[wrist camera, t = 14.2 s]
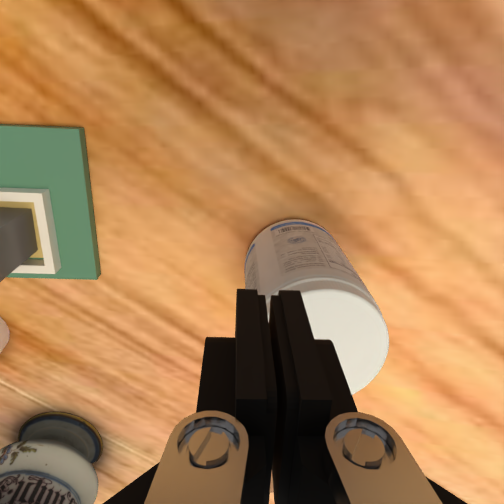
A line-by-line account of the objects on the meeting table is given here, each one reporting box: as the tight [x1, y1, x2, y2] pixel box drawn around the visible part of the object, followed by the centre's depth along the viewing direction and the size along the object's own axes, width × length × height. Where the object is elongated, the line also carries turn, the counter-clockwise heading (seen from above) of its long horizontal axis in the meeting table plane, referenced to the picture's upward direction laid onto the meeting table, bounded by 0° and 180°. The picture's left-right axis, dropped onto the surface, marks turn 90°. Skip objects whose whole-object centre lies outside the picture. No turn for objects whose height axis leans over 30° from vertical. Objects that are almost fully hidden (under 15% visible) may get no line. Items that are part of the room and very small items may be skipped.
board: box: [0, 124, 101, 280], centre depth 35 cm, size 14×12×3 cm
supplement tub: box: [245, 219, 389, 395], centre depth 33 cm, size 10×10×15 cm
